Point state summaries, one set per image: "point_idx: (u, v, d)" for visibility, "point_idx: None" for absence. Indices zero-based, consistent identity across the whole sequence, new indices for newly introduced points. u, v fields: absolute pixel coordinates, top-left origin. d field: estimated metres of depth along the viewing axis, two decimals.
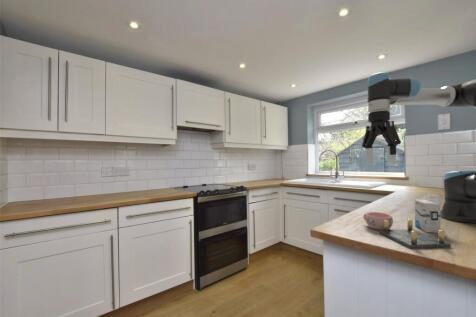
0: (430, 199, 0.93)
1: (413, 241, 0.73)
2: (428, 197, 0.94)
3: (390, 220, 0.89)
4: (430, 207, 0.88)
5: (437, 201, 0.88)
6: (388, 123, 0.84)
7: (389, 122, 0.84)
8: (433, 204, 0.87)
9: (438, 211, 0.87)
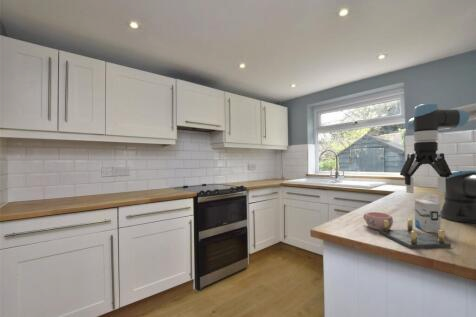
0: (430, 199, 0.93)
1: (413, 241, 0.73)
2: (428, 197, 0.94)
3: (390, 220, 0.89)
4: (430, 207, 0.88)
5: (437, 201, 0.88)
6: (407, 156, 0.92)
7: (408, 155, 0.92)
8: (433, 204, 0.87)
9: (438, 211, 0.87)
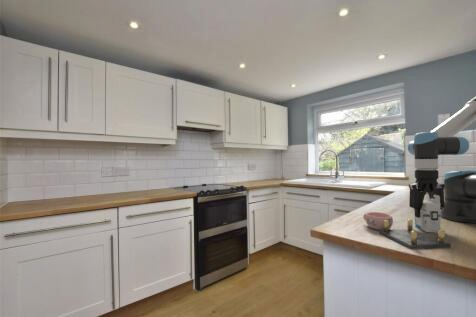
0: (430, 199, 0.93)
1: (413, 241, 0.73)
2: (428, 197, 0.94)
3: (390, 220, 0.89)
4: (430, 207, 0.88)
5: (437, 201, 0.88)
6: (409, 187, 0.92)
7: (410, 186, 0.92)
8: (433, 204, 0.87)
9: (438, 211, 0.87)
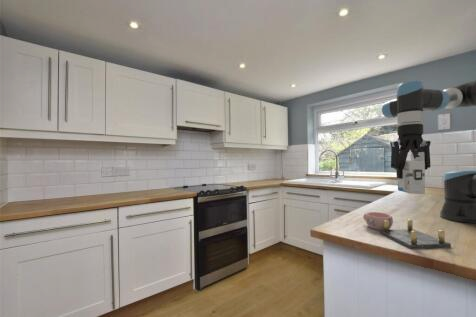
0: (414, 159, 0.82)
1: (413, 241, 0.73)
2: (412, 157, 0.83)
3: (390, 220, 0.89)
4: (413, 165, 0.77)
5: (421, 159, 0.78)
6: (391, 144, 0.82)
7: (391, 143, 0.81)
8: (416, 162, 0.77)
9: (422, 169, 0.76)
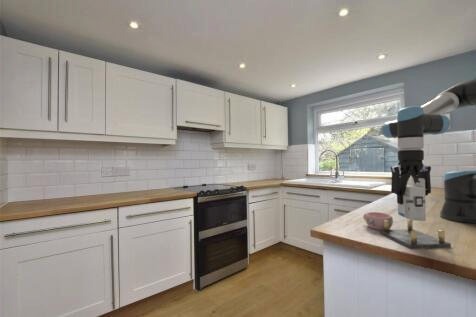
0: None
1: (413, 241, 0.73)
2: (413, 181, 0.83)
3: (390, 220, 0.89)
4: (414, 191, 0.77)
5: (422, 185, 0.77)
6: (391, 169, 0.81)
7: (392, 169, 0.81)
8: (417, 188, 0.76)
9: (423, 196, 0.76)
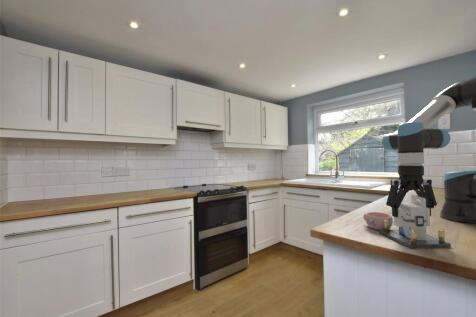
0: (415, 202, 0.82)
1: (413, 241, 0.73)
2: (413, 199, 0.83)
3: (390, 220, 0.89)
4: (415, 211, 0.77)
5: (423, 204, 0.77)
6: (391, 182, 0.81)
7: (391, 181, 0.81)
8: (418, 208, 0.76)
9: (424, 216, 0.76)
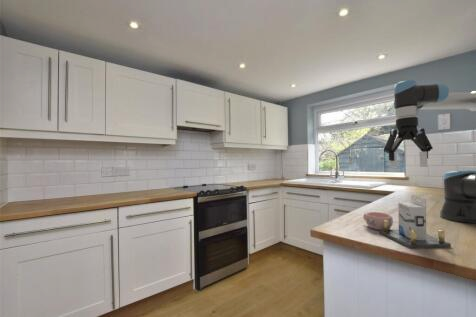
0: (415, 202, 0.82)
1: (413, 241, 0.73)
2: (413, 199, 0.83)
3: (390, 220, 0.89)
4: (415, 211, 0.77)
5: (423, 204, 0.77)
6: (390, 132, 0.94)
7: (391, 131, 0.94)
8: (418, 208, 0.76)
9: (424, 216, 0.76)
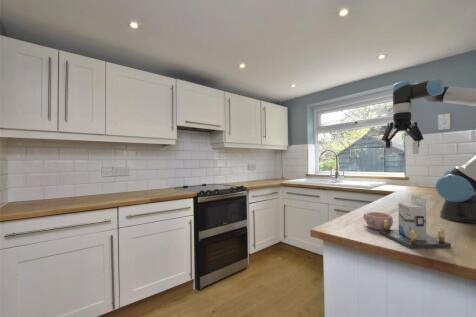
0: (415, 202, 0.82)
1: (413, 241, 0.73)
2: (413, 199, 0.83)
3: (390, 220, 0.89)
4: (415, 211, 0.77)
5: (423, 204, 0.77)
6: (388, 124, 1.13)
7: (388, 123, 1.13)
8: (418, 208, 0.76)
9: (424, 216, 0.76)
